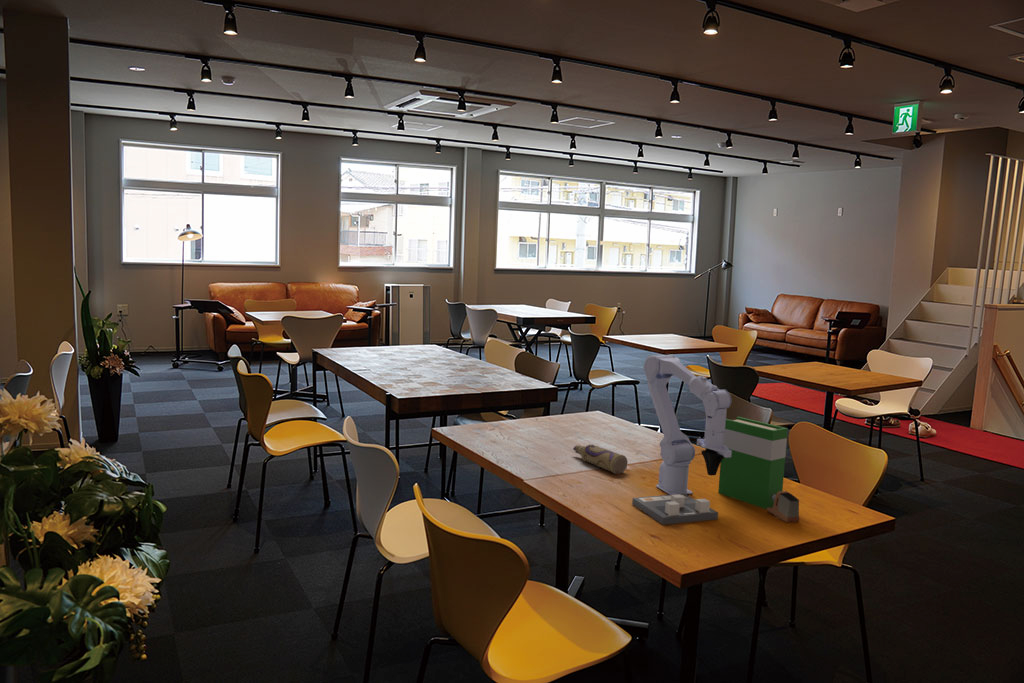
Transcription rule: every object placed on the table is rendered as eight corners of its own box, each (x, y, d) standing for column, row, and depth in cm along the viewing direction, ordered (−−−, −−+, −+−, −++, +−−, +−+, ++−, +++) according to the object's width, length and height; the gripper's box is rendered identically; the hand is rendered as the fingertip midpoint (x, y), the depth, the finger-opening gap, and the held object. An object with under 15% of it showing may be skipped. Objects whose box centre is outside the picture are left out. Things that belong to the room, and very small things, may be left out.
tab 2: (695, 509, 208) (695, 499, 207) (704, 508, 209) (704, 498, 208) (700, 512, 205) (701, 502, 205) (709, 511, 206) (710, 501, 206)
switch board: (632, 504, 216) (632, 497, 216) (684, 499, 223) (684, 493, 222) (662, 524, 201) (663, 517, 200) (717, 519, 207) (718, 511, 207)
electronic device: (778, 510, 216) (780, 486, 215) (800, 522, 207) (802, 497, 206) (765, 512, 215) (767, 487, 214) (786, 524, 206) (789, 498, 205)
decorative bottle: (628, 473, 249) (629, 454, 248) (611, 476, 245) (612, 456, 244) (583, 454, 271) (583, 436, 270) (566, 456, 267) (567, 438, 266)
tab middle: (670, 505, 211) (671, 494, 210) (679, 504, 212) (680, 494, 211) (675, 507, 208) (675, 497, 208) (684, 507, 209) (684, 496, 209)
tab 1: (664, 512, 204) (665, 502, 204) (674, 511, 205) (674, 501, 205) (669, 515, 202) (670, 504, 202) (678, 514, 203) (679, 504, 203)
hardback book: (718, 492, 231) (723, 418, 228) (732, 489, 235) (738, 416, 233) (766, 509, 217) (773, 431, 214) (781, 505, 221) (787, 428, 219)
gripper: (689, 425, 222) (686, 468, 223) (718, 436, 208) (715, 482, 210) (709, 424, 224) (706, 467, 225) (738, 435, 210) (735, 481, 212)
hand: (711, 474), depth 218 cm, fingers closed
